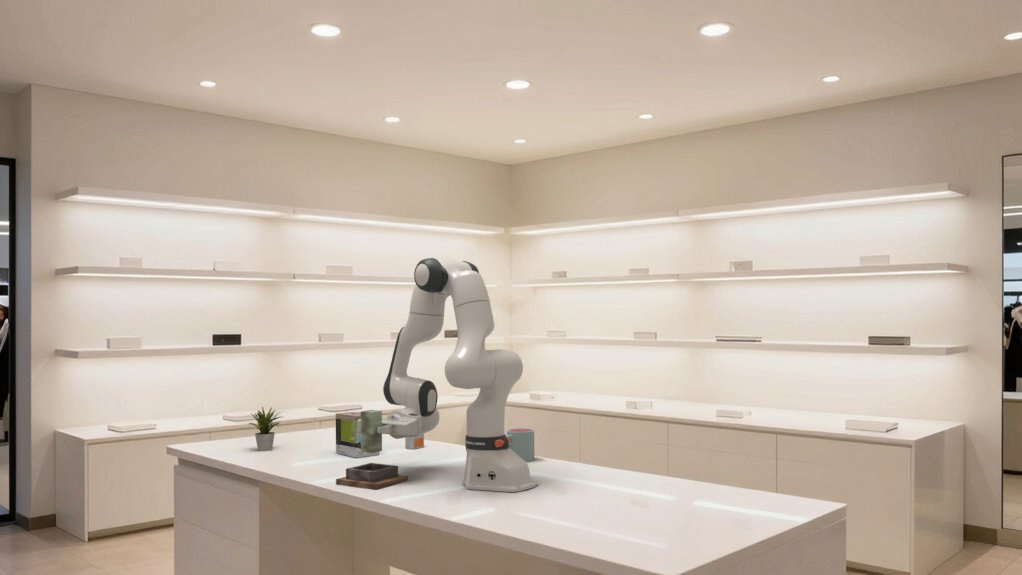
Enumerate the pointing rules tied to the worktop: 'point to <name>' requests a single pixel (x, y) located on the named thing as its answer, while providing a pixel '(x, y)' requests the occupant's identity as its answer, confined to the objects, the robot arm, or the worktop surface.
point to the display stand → (372, 476)
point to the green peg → (371, 431)
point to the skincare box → (414, 442)
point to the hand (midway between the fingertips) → (369, 429)
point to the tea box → (349, 435)
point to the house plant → (265, 430)
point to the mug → (522, 443)
